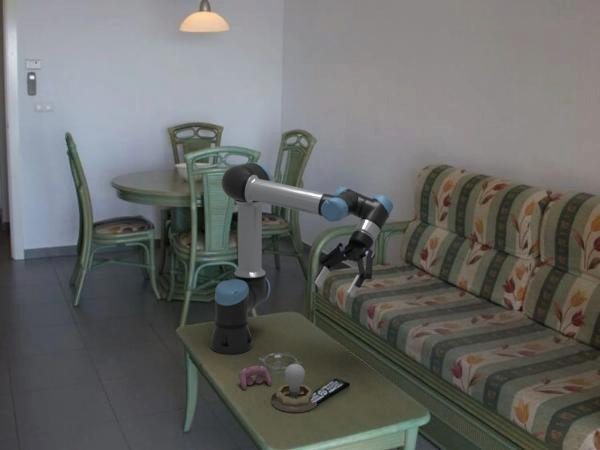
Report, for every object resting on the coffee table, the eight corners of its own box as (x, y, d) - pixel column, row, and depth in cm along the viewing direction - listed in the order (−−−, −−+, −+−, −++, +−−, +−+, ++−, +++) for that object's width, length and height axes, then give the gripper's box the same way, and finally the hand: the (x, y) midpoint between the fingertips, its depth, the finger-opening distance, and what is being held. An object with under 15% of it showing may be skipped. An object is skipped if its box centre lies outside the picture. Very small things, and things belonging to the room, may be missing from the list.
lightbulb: (302, 404, 204) (303, 370, 202) (282, 401, 206) (282, 367, 203) (306, 395, 210) (307, 361, 208) (286, 392, 212) (287, 359, 209)
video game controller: (268, 386, 222) (265, 364, 223) (273, 385, 218) (270, 363, 219) (239, 390, 218) (236, 368, 219) (243, 390, 214) (240, 367, 215)
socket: (263, 396, 211) (263, 386, 210) (304, 388, 217) (304, 377, 217) (283, 416, 199) (284, 405, 198) (326, 407, 205) (326, 396, 204)
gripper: (399, 250, 222) (369, 305, 214) (339, 236, 238) (309, 287, 231) (390, 236, 217) (359, 292, 209) (330, 223, 233) (299, 275, 226)
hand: (333, 289), depth 220 cm, fingers open, 13 cm apart
